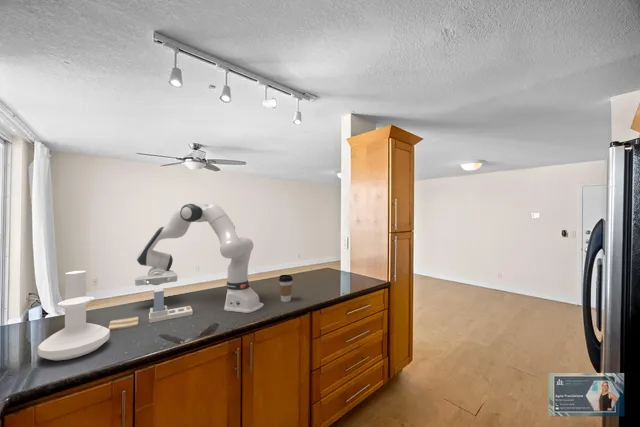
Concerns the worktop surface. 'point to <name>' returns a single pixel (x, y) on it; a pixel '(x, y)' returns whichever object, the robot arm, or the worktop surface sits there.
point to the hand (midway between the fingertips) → (157, 282)
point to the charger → (158, 300)
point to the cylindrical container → (74, 286)
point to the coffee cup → (285, 287)
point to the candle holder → (74, 333)
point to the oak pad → (123, 323)
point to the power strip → (169, 313)
